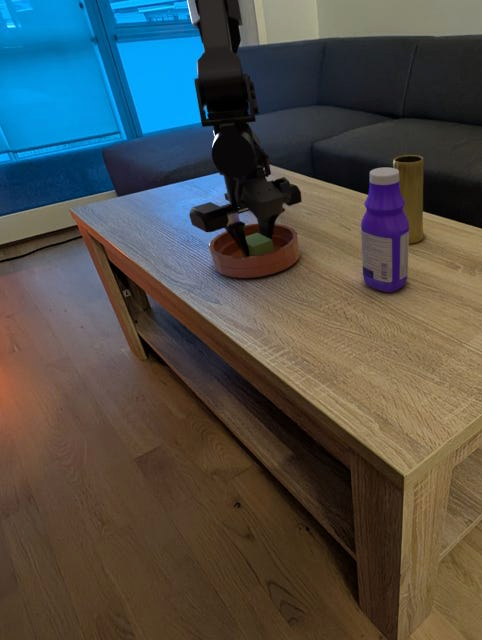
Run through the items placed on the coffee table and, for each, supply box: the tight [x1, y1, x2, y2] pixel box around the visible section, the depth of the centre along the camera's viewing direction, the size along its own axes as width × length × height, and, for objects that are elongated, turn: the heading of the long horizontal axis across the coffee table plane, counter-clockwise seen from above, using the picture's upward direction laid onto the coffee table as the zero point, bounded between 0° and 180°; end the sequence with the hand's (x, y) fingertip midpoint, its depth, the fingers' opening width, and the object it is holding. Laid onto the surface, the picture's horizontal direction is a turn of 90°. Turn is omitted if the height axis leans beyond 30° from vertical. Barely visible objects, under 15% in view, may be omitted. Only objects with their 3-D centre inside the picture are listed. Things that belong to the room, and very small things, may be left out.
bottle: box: [360, 166, 410, 293], centre depth 66 cm, size 7×6×17 cm
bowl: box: [208, 222, 301, 279], centre depth 81 cm, size 16×16×4 cm
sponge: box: [241, 233, 274, 257], centre depth 80 cm, size 5×4×4 cm
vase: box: [392, 154, 425, 245], centre depth 81 cm, size 6×6×14 cm
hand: (257, 252), depth 80 cm, fingers closed on sponge, 4 cm apart
